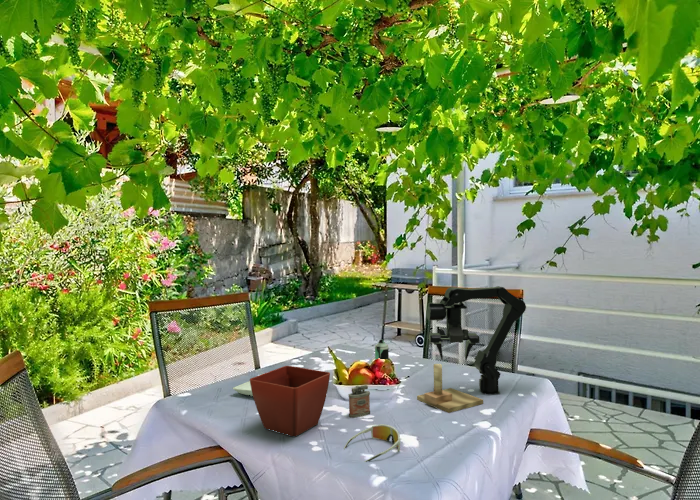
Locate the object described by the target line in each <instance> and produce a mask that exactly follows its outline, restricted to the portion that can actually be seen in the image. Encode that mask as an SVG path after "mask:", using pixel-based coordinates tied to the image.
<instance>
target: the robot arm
mask: <svg viewBox="0 0 700 500" xmlns="http://www.w3.org/2000/svg"><path fill="white" fill-rule="evenodd" d="M488 298H497V299H499V301H500V302H501V303H502V304H504V306H503V311H502V318H501V319H500V321H499V323H498V325H497V327H496V329H495V330H494V333H493V335H492V337H491V338H490V340H489V342H488V344H487V346H486V348H484V350H478V352H477V353H476V355H475V357H474V366H475V369H476V370H478V372H479V374H480V378H479V379H478V389H479V391H480V392H481V393H482V394H483V395H499V394H501V393H500V391H499V380H500V377H501V374H502V373H501V372H499V370H497V368H496V366H497V359H498V354H499V352H500V349H501V348H502V347H503V344H504V342H505V340H506V338H507V336H508V335H509V333H510V331H511V328H512V327H513V325H514V323H515V322H516V321H518V320H519V319H520V318H521V317H522V316H523V314H524V313H525V312H526V311H527V310H526V309H527V305H526V303H525V301H523V300H522V299H520V298H518V297H516V296H515V295H513V294H512V293H511V292H510V291H508V290H507V289H506V288H505V287H503V286H498V285H497V286H494V287H493V286H492V287H490V286H489V287H479V288H463V287H448V288H447V289H446V290H445V293H444V296H443V298H442V299H440V301H439V302H428V304H427V305H428V306H427V307H426V319H427V321H443V320H444V319H446V320H445V322H446V323H445V325H446V326H445V327H446V328H445V329H446V330H445V331H446V332H445V333H446V334H445V335H444V334H443V335H442V334H441V333H440V332H430V333H429V335H428V340H429V342H430V343H432V344H433V346H434V345H435V346H436V348H437V350H438V354H439V357H440V359H441V361H443V359H444V358H443V349H442V348H443V346H442V344H443V343H442V342H441V341H449V342H450V343H452V344H453V343H460V344H461V343H463V342H464V341H465V349H464V359H465V361H467V360H468V357H469V354H470V352H471V350H472V348H473V346H476V345H477V344H479V343H480V336H479V334H477V333H476V332H475V333H474V332H473V333H471V332H469V330H468V329H467V328H466V329H465V328H464V329H463V328H462V327H463V326H462V310H464V309H465V310H466V309H468V307H467V306H466V305H465V304H464V303H465V302H467V301H468V300H469V301H470V300H475V299H476V300H477V299H478V300H479V299H488Z"/></svg>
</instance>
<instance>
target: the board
mask: <svg viewBox="0 0 700 500" xmlns="http://www.w3.org/2000/svg"><path fill="white" fill-rule="evenodd" d="M442 390H443V391H446V392H449V393H451V394H452V401H449V402H445V403H441V404H437V405H435V404H432V403H430V402H427V401H425V400H424V393H422V394H419V395H416V400H417V401H419V402H422V403H424V404H426V405H429V406H431V407H433V408H436V409H439V410H440V411H443V412H445V413H448V414H450V413H453V412H457V411H458V412H459V411H461V410H466V409H469V408H472V407H476V406H480V405H483V404H484V399H482V398H480V397H476V396H474V395H471V394H469V393H466V392H462V391H460V390H457V389H455V388H451V387H449V388H445V389H442Z"/></svg>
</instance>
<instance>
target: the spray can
mask: <svg viewBox="0 0 700 500" xmlns="http://www.w3.org/2000/svg"><path fill="white" fill-rule="evenodd" d="M378 358H380V359H388V360H389V359H390V357H389V344H387V343H386V342H385V340H384V339H382V338H381V339H379V341H378V342H377V344H375V346H374V361H375V360H376V359H378Z"/></svg>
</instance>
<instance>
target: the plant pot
mask: <svg viewBox="0 0 700 500" xmlns="http://www.w3.org/2000/svg"><path fill="white" fill-rule="evenodd" d="M330 376H331V372H329V371H324V370H318V369H310V368H305V367H299V366H294V365H293V366H292V365H284V366H282V367H279V368H276V369H273V370H271V371H268V372H265V373H261V374H259V375H257V376H254V377H251V378H250V379H249V381H250V385H251V390H252V394H253V397H252V398H253V400H254V404H255V407H256V410H257V413H258V415H259V418H260V421H261V423H262V425H263V427H264V429H265V428H266V429H270V430H274V431H277V432H280V433H279V434H281V433H284V434H283V435H285V434H288V435H290V436H289V437H292V436H295V437H297V435H298V436H300V435H301V434H303V433H305V432H306V431H308V430H310V429H311V428H313V427H315V426H317V425H318V424H319V421H320V420H321V419H320V418H321V415H322V412H323V411H324V410H323V409H324V406H325V403H326V399H327V394H328V389H329V383H330V378H331V377H330ZM266 429H265V430H266ZM277 432H276V433H277ZM288 435H287V436H288Z"/></svg>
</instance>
